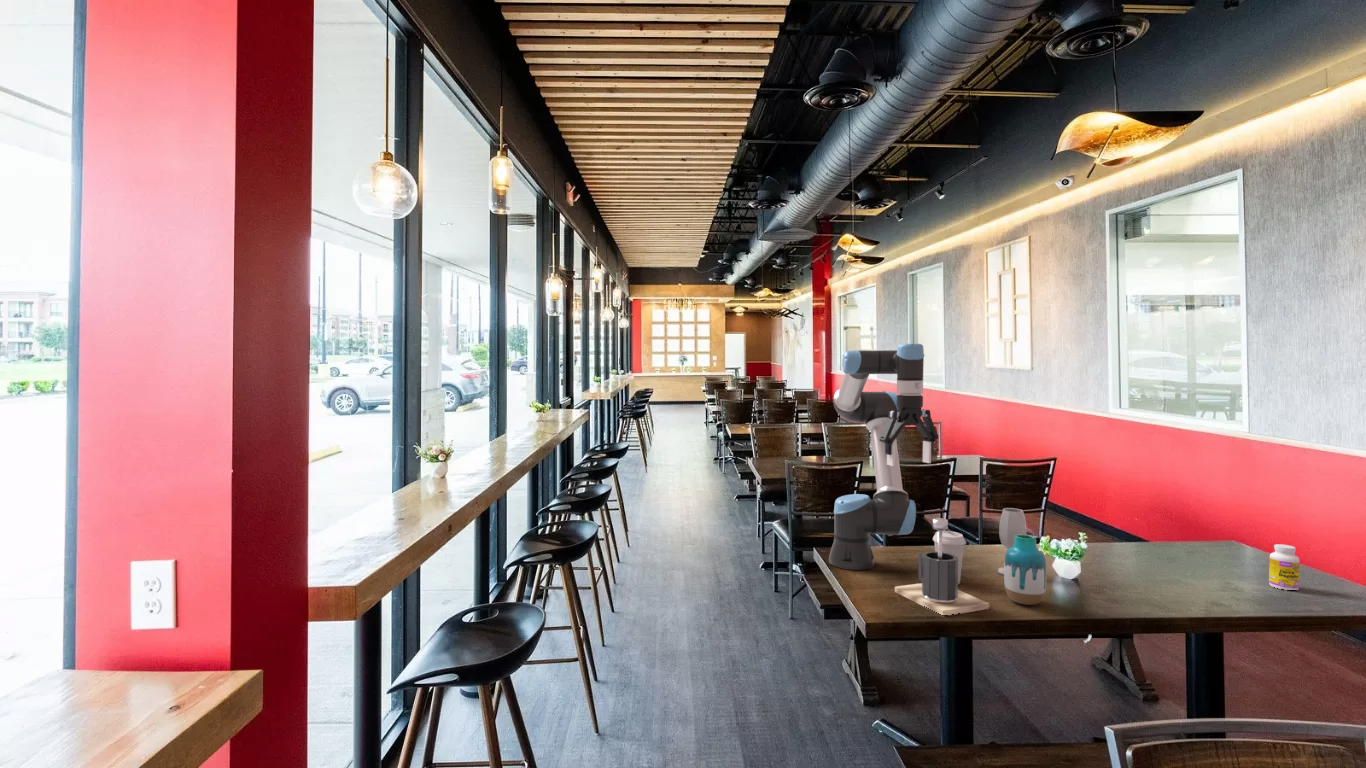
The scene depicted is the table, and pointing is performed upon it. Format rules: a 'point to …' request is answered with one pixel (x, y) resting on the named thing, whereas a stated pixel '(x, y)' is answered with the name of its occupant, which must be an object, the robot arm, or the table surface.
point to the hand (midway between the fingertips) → (908, 464)
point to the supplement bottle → (1284, 568)
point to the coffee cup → (952, 546)
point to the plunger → (940, 532)
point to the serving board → (961, 606)
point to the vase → (1025, 571)
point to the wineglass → (1011, 527)
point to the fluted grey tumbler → (939, 577)
